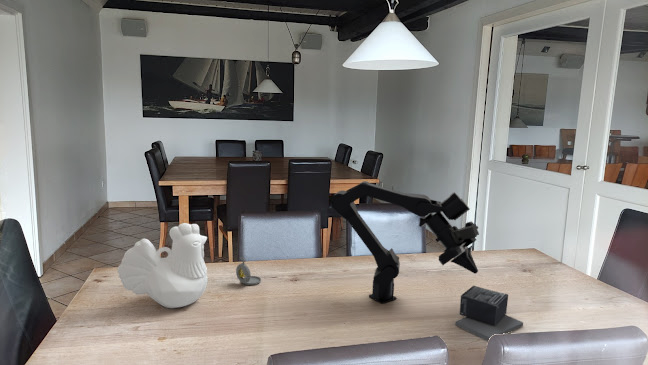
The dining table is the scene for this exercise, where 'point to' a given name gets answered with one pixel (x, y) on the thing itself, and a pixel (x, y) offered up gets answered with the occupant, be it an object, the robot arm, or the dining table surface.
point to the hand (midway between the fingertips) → (476, 272)
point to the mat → (488, 326)
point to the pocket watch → (246, 274)
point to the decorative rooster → (167, 268)
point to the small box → (483, 305)
